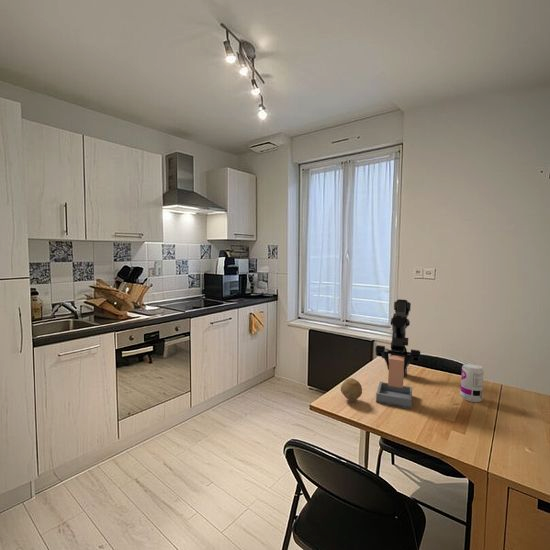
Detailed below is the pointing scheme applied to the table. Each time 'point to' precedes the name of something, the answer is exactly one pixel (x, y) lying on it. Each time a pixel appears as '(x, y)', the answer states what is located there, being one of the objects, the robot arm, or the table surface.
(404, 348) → the robot arm
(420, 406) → the table surface
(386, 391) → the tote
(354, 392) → the natural sponge
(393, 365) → the carton
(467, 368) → the supplement can
